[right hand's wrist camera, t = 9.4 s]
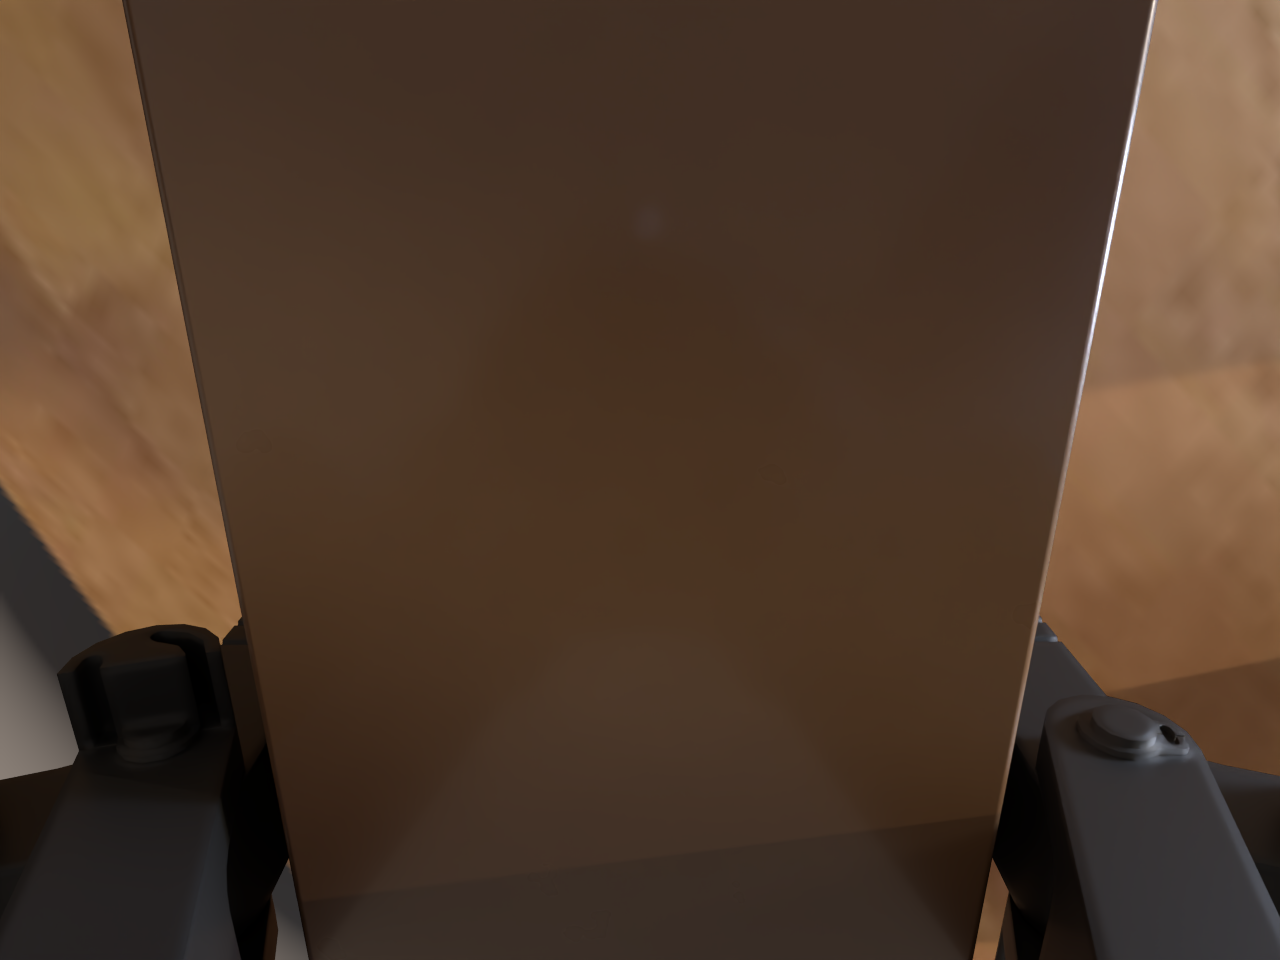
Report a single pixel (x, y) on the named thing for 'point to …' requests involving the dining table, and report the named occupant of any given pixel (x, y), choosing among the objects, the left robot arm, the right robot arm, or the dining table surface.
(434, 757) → the post
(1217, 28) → the dining table surface
